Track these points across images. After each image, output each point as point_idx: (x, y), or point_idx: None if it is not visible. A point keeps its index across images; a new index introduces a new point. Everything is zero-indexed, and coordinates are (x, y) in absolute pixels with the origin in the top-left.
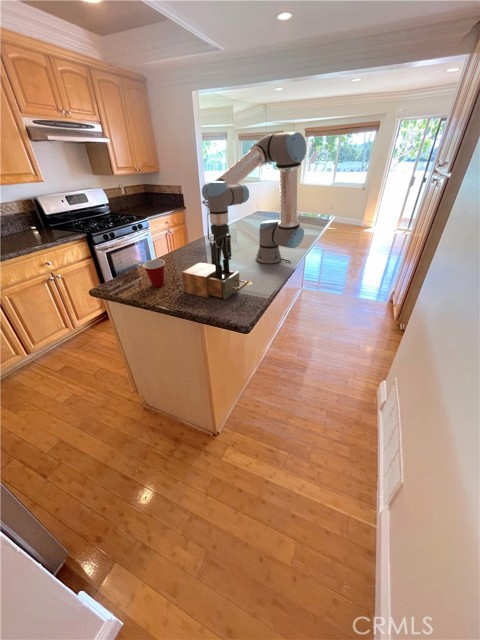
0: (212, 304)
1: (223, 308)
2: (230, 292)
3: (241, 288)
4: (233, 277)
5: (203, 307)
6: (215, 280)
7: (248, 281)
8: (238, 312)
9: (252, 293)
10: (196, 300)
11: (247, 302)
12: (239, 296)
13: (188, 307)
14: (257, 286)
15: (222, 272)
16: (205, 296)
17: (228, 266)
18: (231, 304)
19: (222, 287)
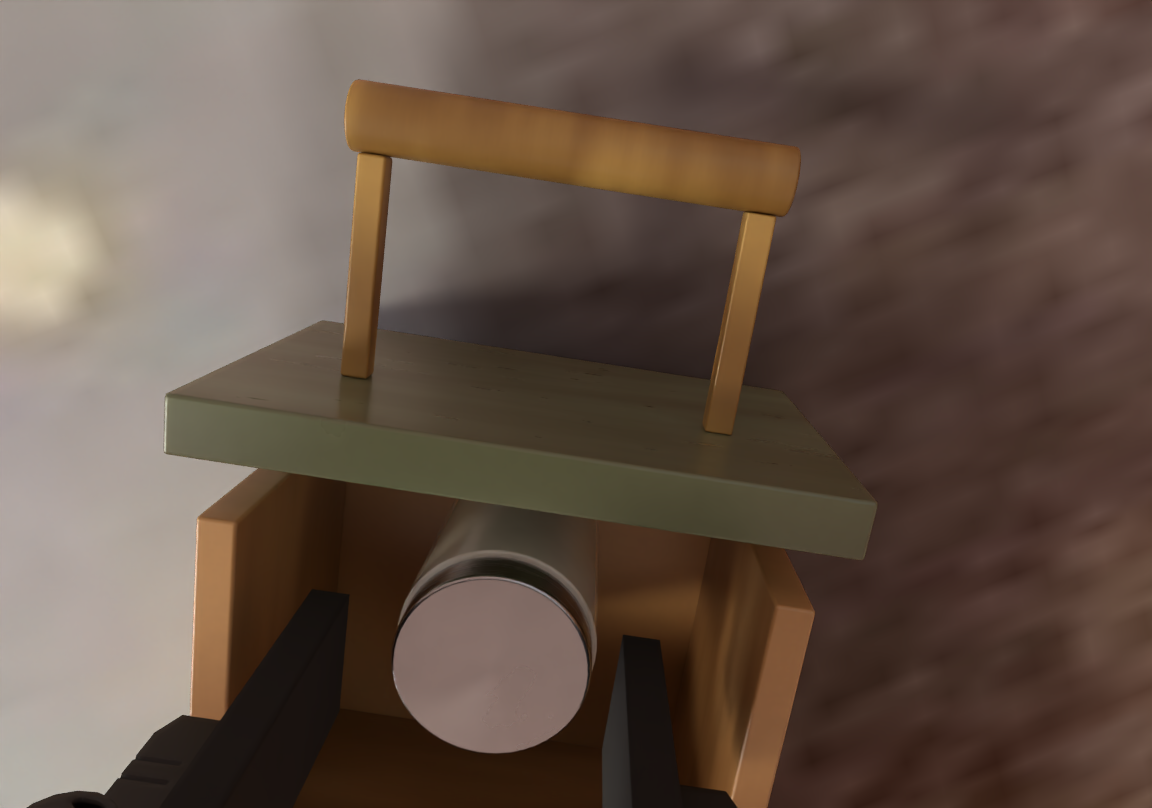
0: (910, 532)
1: (997, 335)
2: (631, 381)
3: (712, 134)
4: (475, 427)
5: (1023, 612)
6: (784, 725)
7: (361, 85)
8: (1079, 58)
9: (368, 57)
10: (846, 775)
11: (715, 30)
12: (547, 239)
13: (1060, 786)
14: (69, 60)
15: None
16: None
17: (267, 701)
18: (846, 265)
19: (598, 555)
